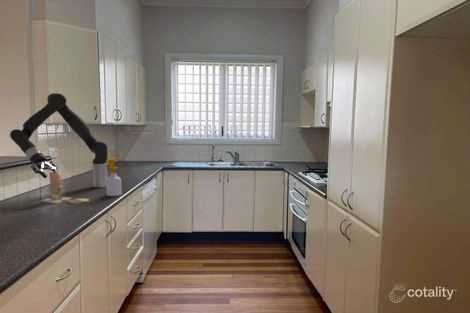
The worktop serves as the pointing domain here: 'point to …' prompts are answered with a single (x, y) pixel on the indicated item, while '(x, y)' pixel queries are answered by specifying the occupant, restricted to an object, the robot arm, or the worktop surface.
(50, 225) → the worktop surface
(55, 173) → the lidded jar
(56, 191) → the white display stand
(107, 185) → the soap bottle
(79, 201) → the mat
